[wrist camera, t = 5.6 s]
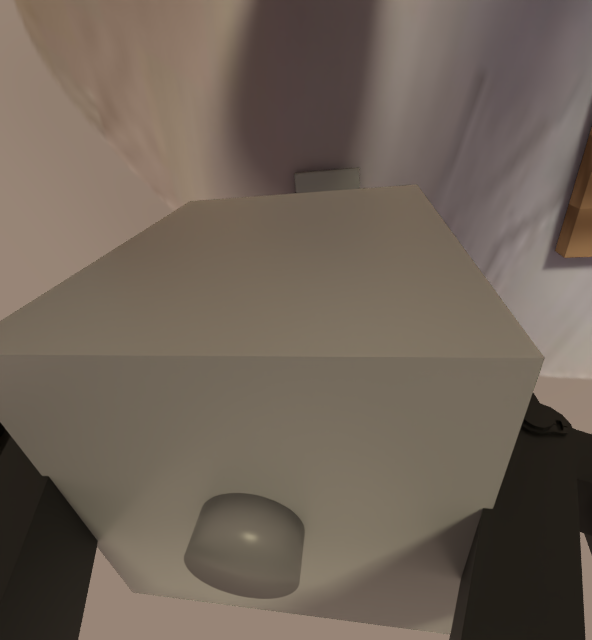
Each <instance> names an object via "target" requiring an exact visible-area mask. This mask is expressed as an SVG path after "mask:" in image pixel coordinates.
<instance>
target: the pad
mask: <svg viewBox="0 0 592 640" xmlns="http://www.w3.org/2000/svg"><path fill="white" fill-rule="evenodd" d="M294 177H295V187H296V193H308V192H322V191H335V190H349V189H359V167H358V168H346V169H335V170H323V171H311V172H299V173H295V174H294Z"/></svg>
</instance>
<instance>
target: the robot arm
mask: <svg viewBox="0 0 592 640" xmlns="http://www.w3.org/2000/svg"><path fill="white" fill-rule="evenodd" d="M580 532H582V533H584V534H585V537H586V540H587V542H588V546H589V548H590V551H591V554H592V434H588V433H585V432H582V431H579V430H576V429H573V428H572V426H571V424H570V423H569V422H568V421H567V420H566V419H565V417H564V416H563V415H562V414H560V413H558V412H557V411H555V410H554V409H552V408H551V407H548V406H546V405H543V404H540V403H539V401H538V400H537V398H536V396H535V395H534V393H532V396H531V399H530V402H529V405H528V408H527V411H526V414H525V417H524V420H523V422H522V425H521V428H520V431H519V434H518V437H517V440H516V443H515V446H514V449H513V452H512V454H511V457H510V460H509V463H508V466H507V469H506V472H505V475H504V478H503V481H502V484H501V486H500V489H499V492H498V495H497V498H496V501H495V504H494V507H493V509H489V508H483V510H482V513H481V517H480V520H479V523H478V526H477V529H476V533H475V536H474V539H473V542H472V545H471V548H470V552H469V555H468V558H467V561H466V564H465V568H464V571H463V574H462V577H461V581H460V586H459V591H458V597H457V602H456V607H455V612H454V618H453V623H452V628H451V634H450V639H449V640H585V623H584V604H583V588H582V587H583V585H582V567H581V548H580ZM97 543H98V541H97V539H96V538H95V537H94V535H93V534H92V533H91V531H90V530H89V529H88V527H87V526H86V525H85V523H84V522H83V521H82V520H81V518H80V517H79V516H78V514H77V513H76V512H75V510H74V509H73V508H72V506H71V505H70V504H69V502H68V501H67V500H66V498H65V497H64V496H63V494H62V493H61V492H60V491H59V489H58V488H57V487H56V485H55V484H54V483H53V481H52V480H51V479H50V477H49V476H42V475H41V474H40V473H39V471H38V470H37V469H36V467H35V466H34V465H33V464H32V462H31V461H30V460H29V458H28V457H27V456H26V455H25V453H24V452H23V451H22V449H21V448H20V447H19V446H18V444H17V443H16V442H15V440H14V439H13V438H12V437H11V435H10V434H9V433H8V431H7V430H6V429H5V428H4V426H3V425H2V424H1V422H0V640H78V637H79V632H80V627H81V622H82V618H83V612H84V608H85V603H86V597H87V593H88V588H89V583H90V578H91V573H92V568H93V563H94V558H95V553H96V548H97Z"/></svg>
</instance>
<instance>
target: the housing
mask: <svg viewBox="0 0 592 640" xmlns="http://www.w3.org/2000/svg"><path fill="white" fill-rule="evenodd" d="M543 361H544V357H543V355H542V354H541V352H540V351H539V350H538V348H537V347H536V346H535V344H534V343H533V342H532V340H531V339H530V338H529V336H528V335H527V333H526V332H525V331H524V329H523V328H522V327H521V325H520V324H519V323H518V321H517V320H516V318H515V317H514V316H513V314H512V313H511V312H510V310H509V309H508V308H507V306H506V305H505V304H504V302H503V301H502V299H501V298H500V297H499V295H498V294H497V293H496V291H495V290H494V289H493V287H492V286H491V285H490V283H489V282H488V280H487V279H486V278H485V276H484V275H483V274H482V272H481V271H480V270H479V268H478V267H477V266H476V264H475V263H474V261H473V260H472V259H471V257H470V256H469V255H468V253H467V252H466V251H465V249H464V248H463V247H462V245H461V244H460V242H459V241H458V240H457V238H456V237H455V236H454V234H453V233H452V232H451V230H450V229H449V227H448V226H447V225H446V223H445V222H444V221H443V219H442V218H441V217H440V215H439V214H438V213H437V211H436V210H435V208H434V207H433V206H432V204H431V203H430V202H429V200H428V199H427V198H426V196H425V195H424V194H423V192H422V191H421V189H420V188H419V187H418V185H403V186H390V187H376V188H363V189H349V190H335V191H322V192H308V193H295V194H281V195H268V196H254V197H241V198H227V199H214V200H200V201H190V202H188V203H187V204H185V205H183V206H182V207H180V208H179V209H177V210H175V211H174V212H172V213H171V214H169V215H167V216H166V217H164V218H163V219H161V220H160V221H158V222H156V223H155V224H153V225H152V226H150V227H149V228H147V229H145V230H144V231H142V232H141V233H139V234H137V235H136V236H134V237H133V238H131V239H130V240H128V241H126V242H125V243H123V244H122V245H120V246H118V247H117V248H115V249H114V250H112V251H111V252H109V253H107V254H106V255H104V256H103V257H101V258H100V259H98V260H96V261H95V262H93V263H91V264H90V265H88V266H87V267H85V268H84V269H82V270H80V271H79V272H77V273H76V274H74V275H72V276H71V277H69V278H68V279H66V280H65V281H63V282H61V283H60V284H58V285H57V286H55V287H53V288H52V289H51V290H49V291H47V292H46V293H44V294H42V295H41V296H39V297H38V298H36V299H35V300H33V301H32V302H30V303H28V304H27V305H25V306H23V307H22V308H20V309H19V310H17V311H15V312H14V313H12V314H11V315H9V316H8V317H6V318H5V319H3V320H1V321H0V422H1V424H2V425H3V426H4V428H5V429H6V430H7V431H8V433H9V434H10V435H11V437H12V438H13V439H14V440H15V442H16V443H17V444H18V446H19V447H20V448H21V449H22V451H23V452H24V453H25V455H26V456H27V457H28V458H29V460H30V461H31V462H32V464H33V465H34V466H35V467H36V469H37V470H38V471H39V473H40V474H41V475H42V476H49V477H50V479H51V480H52V481H53V483H54V484H55V485H56V487H57V488H58V489H59V491H60V492H61V493H62V494H63V496H64V497H65V498H66V500H67V501H68V502H69V504H70V505H71V506H72V508H73V509H74V510H75V512H76V513H77V514H78V516H79V517H80V518H81V520H82V521H83V522H84V523H85V525H86V526H87V527H88V529H89V530H90V531H91V533H92V534H93V535H94V537H95V538H96V539H97V541H98V543H97V547H98V548H99V549H100V551H101V552H102V553H103V555H104V556H105V557H106V559H107V560H108V561H109V562H110V564H111V565H112V566H113V568H114V569H115V570H116V571H117V573H118V574H119V575H120V577H121V578H122V579H123V580H124V582H125V583H126V584H127V585H128V587H129V588H130V589H131V591H132V592H134V593H142V594H149V595H157V596H164V597H172V598H179V599H187V600H195V601H202V602H210V603H217V604H224V605H232V606H239V607H247V608H255V609H262V610H271V611H278V612H285V613H292V614H300V615H307V616H315V617H323V618H331V619H338V620H345V621H353V622H361V623H368V624H375V625H383V626H390V627H398V628H406V629H413V630H420V631H429V632H436V633H443V634H450V632H451V628H452V623H453V618H454V612H455V607H456V602H457V597H458V591H459V586H460V581H461V577H462V574H463V571H464V568H465V564H466V561H467V558H468V555H469V552H470V548H471V545H472V542H473V539H474V536H475V533H476V529H477V526H478V523H479V520H480V517H481V513H482V510H483V508H489V509H493V507H494V504H495V501H496V498H497V495H498V492H499V489H500V486H501V484H502V481H503V478H504V475H505V472H506V469H507V466H508V463H509V460H510V457H511V454H512V452H513V449H514V446H515V443H516V440H517V437H518V434H519V431H520V428H521V425H522V422H523V420H524V417H525V414H526V411H527V408H528V405H529V402H530V399H531V396H532V393H533V390H534V388H535V385H536V382H537V379H538V376H539V373H540V370H541V367H542V364H543Z"/></svg>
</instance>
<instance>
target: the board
mask: <svg viewBox="0 0 592 640" xmlns="http://www.w3.org/2000/svg"><path fill="white" fill-rule="evenodd" d="M555 251H556V252H557V253H559V254H560V255H561V256H563V257H564V258H572V257H592V128H591V131H590V134H589V138H588V141H587V144H586V148H585V151H584V155H583V158H582V161H581V165H580V168H579V171H578V175H577V178H576V182H575V185H574V188H573V192H572V195H571V198H570V202H569V205H568V209H567V212H566V215H565V219H564V222H563V225H562V229H561V232H560V236H559V239H558V242H557V246H556V249H555Z"/></svg>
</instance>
